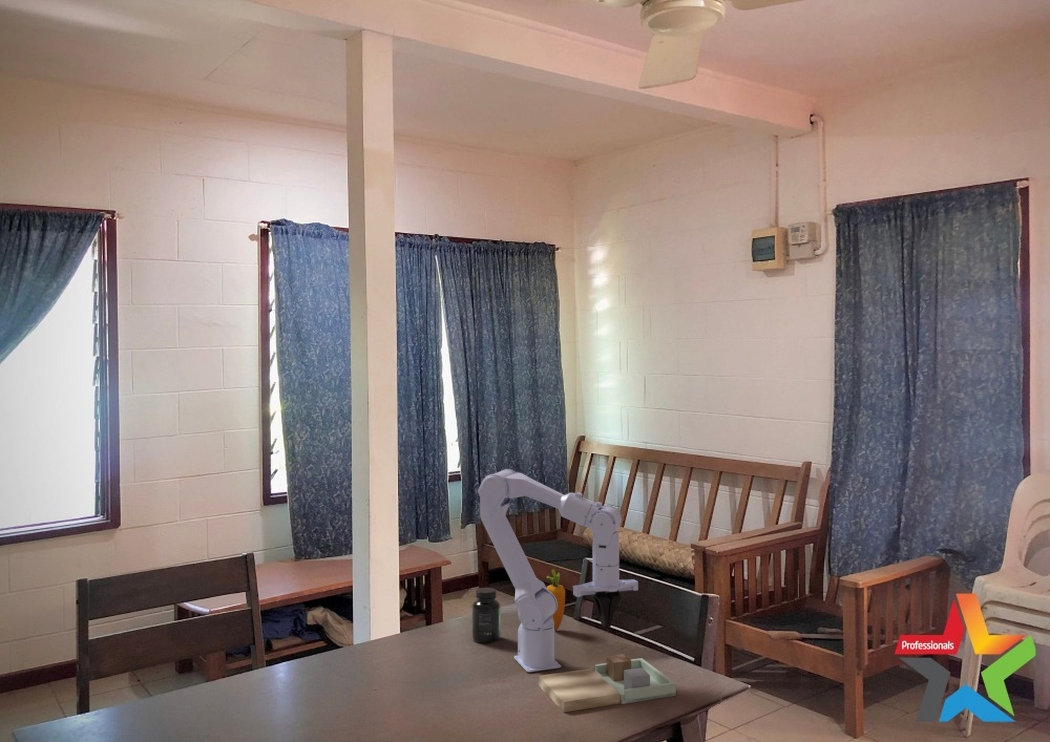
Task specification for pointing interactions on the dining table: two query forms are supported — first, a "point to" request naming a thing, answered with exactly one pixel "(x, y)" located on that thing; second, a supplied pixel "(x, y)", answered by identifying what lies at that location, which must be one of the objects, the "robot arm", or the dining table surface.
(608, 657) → the walnut block
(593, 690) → the birch plate
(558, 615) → the carrot
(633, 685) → the slate block
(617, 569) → the robot arm
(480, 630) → the supplement bottle
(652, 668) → the box
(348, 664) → the dining table surface
